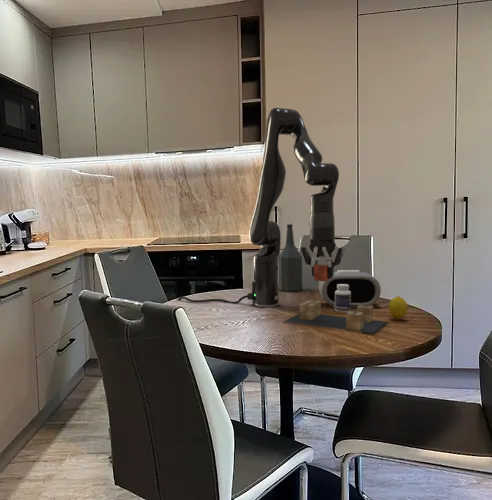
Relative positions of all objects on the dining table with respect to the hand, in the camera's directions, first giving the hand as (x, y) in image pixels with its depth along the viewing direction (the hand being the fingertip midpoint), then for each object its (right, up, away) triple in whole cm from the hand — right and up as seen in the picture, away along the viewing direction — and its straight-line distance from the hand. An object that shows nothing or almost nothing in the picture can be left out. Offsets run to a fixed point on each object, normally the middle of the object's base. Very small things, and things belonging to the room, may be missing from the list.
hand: (322, 277), depth 159 cm
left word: (0, -14, +10) cm, 17 cm away
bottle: (+8, -9, +62) cm, 63 cm away
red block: (0, -1, 0) cm, 1 cm away
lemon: (+26, -14, +3) cm, 30 cm away
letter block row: (+11, -15, -3) cm, 19 cm away
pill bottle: (+14, -13, +18) cm, 27 cm away
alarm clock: (+20, -12, +26) cm, 35 cm away
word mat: (+5, -15, +2) cm, 16 cm away
